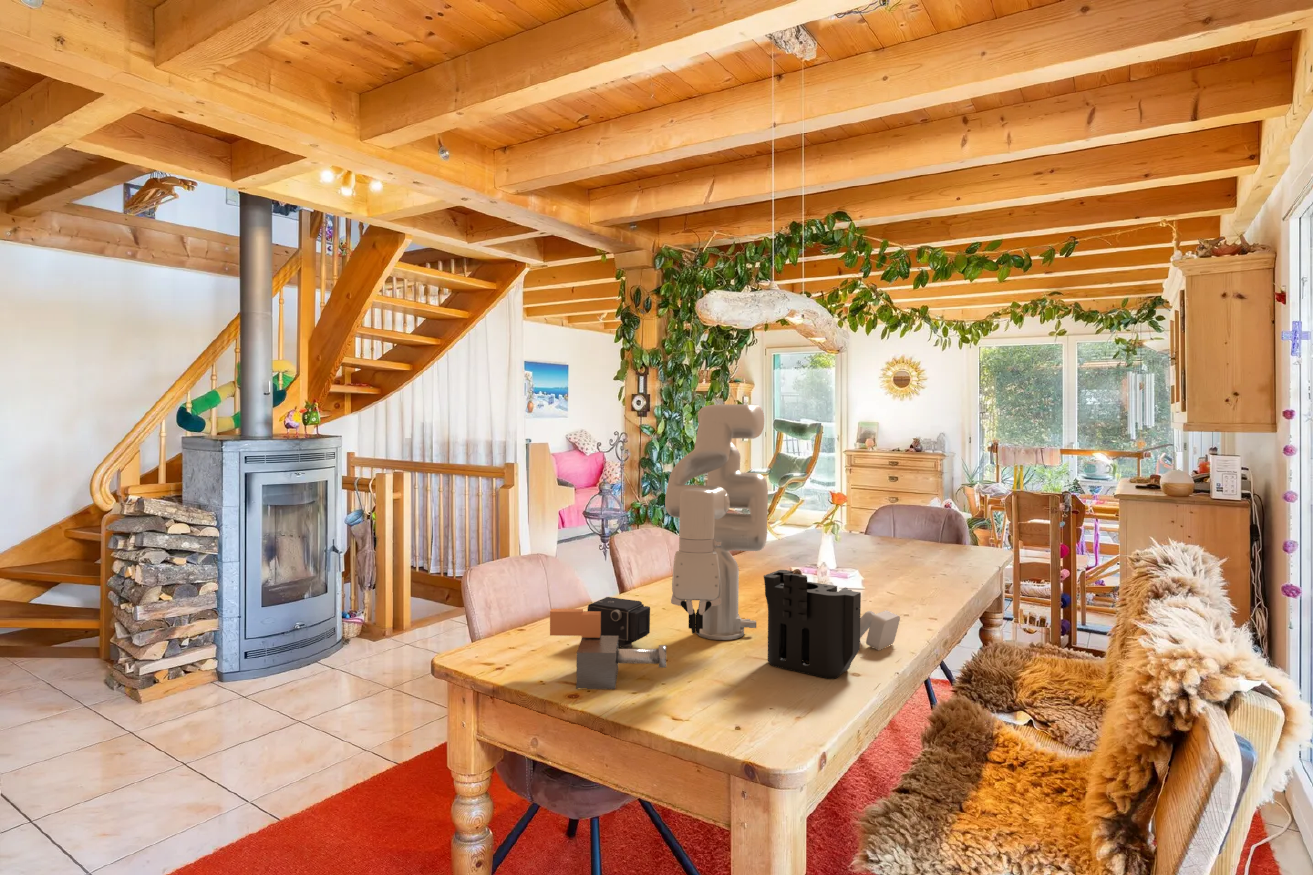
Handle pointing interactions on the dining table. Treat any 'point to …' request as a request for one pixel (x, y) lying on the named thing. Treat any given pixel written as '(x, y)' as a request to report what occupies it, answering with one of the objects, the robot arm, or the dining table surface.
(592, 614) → the plate
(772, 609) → the black machined bracket
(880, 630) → the wall hook
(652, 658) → the pin
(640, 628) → the camera
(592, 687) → the block
